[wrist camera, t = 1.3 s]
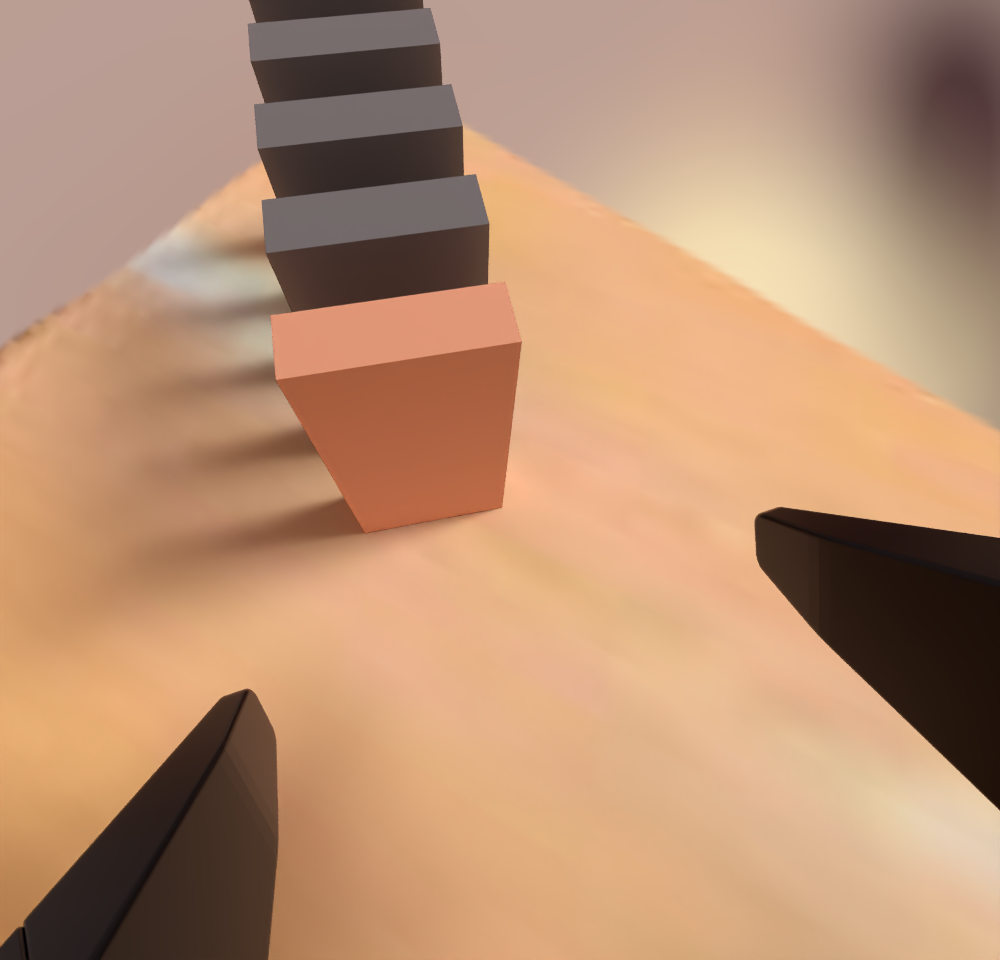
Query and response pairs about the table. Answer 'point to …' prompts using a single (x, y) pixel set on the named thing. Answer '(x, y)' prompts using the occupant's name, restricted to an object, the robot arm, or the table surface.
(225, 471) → the table surface
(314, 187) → the domino
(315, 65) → the domino
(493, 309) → the domino
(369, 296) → the domino
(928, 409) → the table surface
